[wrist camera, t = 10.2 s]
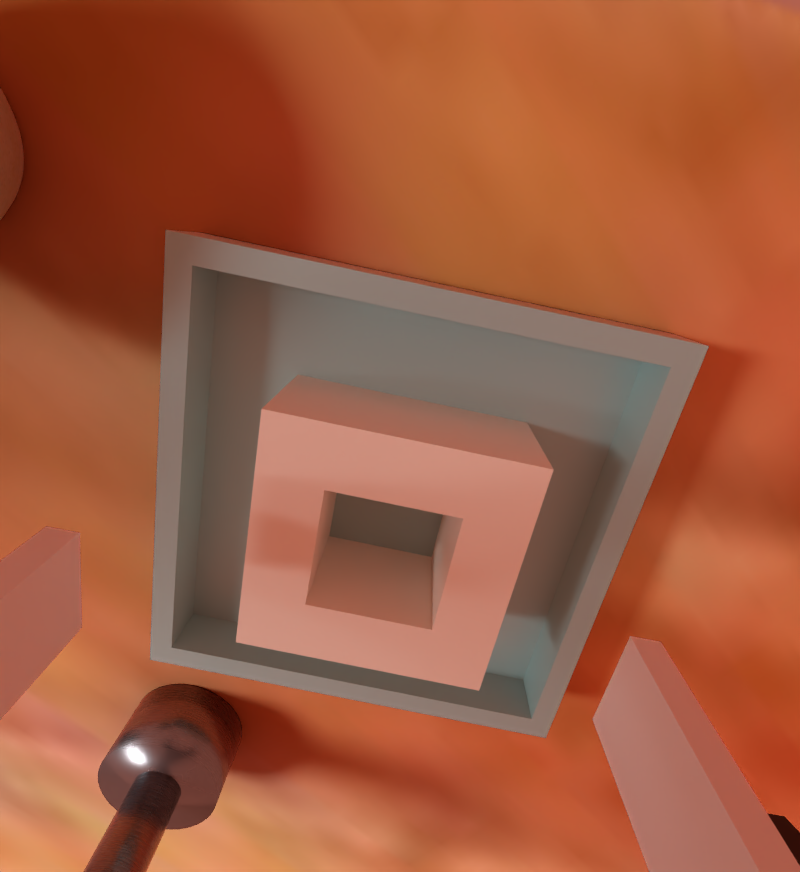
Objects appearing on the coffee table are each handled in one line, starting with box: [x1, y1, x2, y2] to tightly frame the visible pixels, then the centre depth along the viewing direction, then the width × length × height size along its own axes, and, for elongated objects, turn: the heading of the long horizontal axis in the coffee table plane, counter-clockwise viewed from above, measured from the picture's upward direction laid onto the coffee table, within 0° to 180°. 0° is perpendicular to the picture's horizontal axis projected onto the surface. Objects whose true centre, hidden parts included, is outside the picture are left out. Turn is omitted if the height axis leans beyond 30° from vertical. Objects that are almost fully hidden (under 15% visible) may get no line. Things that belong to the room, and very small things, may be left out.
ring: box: [236, 375, 554, 691], centre depth 17 cm, size 8×8×4 cm
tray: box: [150, 230, 709, 738], centre depth 18 cm, size 16×16×2 cm
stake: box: [84, 684, 242, 872], centre depth 18 cm, size 5×5×12 cm
